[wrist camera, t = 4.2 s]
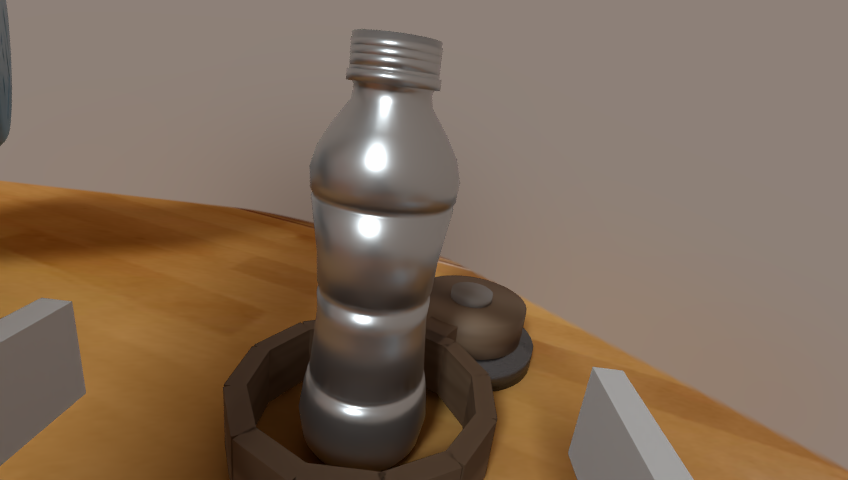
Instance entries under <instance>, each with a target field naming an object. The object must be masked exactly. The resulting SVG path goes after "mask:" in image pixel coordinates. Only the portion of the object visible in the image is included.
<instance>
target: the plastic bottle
mask: <svg viewBox="0 0 848 480" xmlns="http://www.w3.org/2000/svg"><path fill="white" fill-rule="evenodd" d="M441 59H442V42H441V41H438V40H435V39H431V38H427V37H422V36H417V35H412V34H405V33H398V32H391V31H381V30H366V29H362V30H361V29H358V30H353V31H352V36H351V48H350V67H349V68H347V73H346V79H348V80H352V81H353V83H354V85H353V92H352V96H351V99H350V100H349V101H348V102H347V104H346V105H345V106H344V107H343V108H342V110H341V111H340V112H339V113H338V115H337V116H336V117H335V118H334V120H333V121H332V122H331V123H330V125H329V127H328V128H327V129H326V131H325V133H324V134H323V136H322V137H321V139H320V140H319V142H318V143H317V145H316V148H315V151H314V154H313V157H312V160H311V163H310V188H311V190H312V193H311V199H312V209H313V218H314V228H315V238H316V248H317V282H318V287H317V313H316V321H315V328H314V335H313V342H312V349H311V356H310V361H309V363H308V366H307V369H306V373H305V376H304V381H303V386H302V391H301V396H300V402H299V411H300V418H301V424H302V430H303V436H304V438H305V441H306V443H307V445H308V447H309V448H310V449H311V450H312V452H313V453H314V454H315V455H316V456H317V457H318V458H319V459H320V460H321V461H322V462H324V463H325V464H326V465H329V466H337V467H345V468H353V469H361V470H369V471H377V472H382V471H385V470H387V469H389V468H390V467H392V466H394V465H395V464H397V463H398V462H399V461H401V460H402V459H403V458H404V457H405V456H407V455H408V454H409V453H410V452H411V450H412V448H413V447H414V445H415V444H416V441H417V438H418V436H419V433H420V430H421V427H422V425H423V422H424V419H425V414H426V382H425V373H424V352H425V333H426V318H427V313H428V308H429V303H430V294H431V292H432V288H433V283H434V278H435V272H436V267H437V262H438V259H439V256H440V252H441V249H442V246H443V242H444V239H445V235H446V232H447V229H448V226H449V222H450V219H451V215H452V212H453V205H454V204H455V203H456V198H457V193H458V188H459V184H460V181H459V173H458V165H457V159H456V157H455V154H454V152H453V149H452V147H451V144H450V142H449V139H448V137H447V135H446V133H445V131H444V129H443V127H442V125H441V124H440V122H439V120H438V118H437V116H436V114H435V112H434V110H433V108H432V93H433V92H434V91H440V88H441V80H439V75H440V67H441Z"/></svg>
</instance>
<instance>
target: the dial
mask: <svg viewBox="0 0 848 480" xmlns="http://www.w3.org/2000/svg"><path fill="white" fill-rule="evenodd" d="M525 315H526V305H525V303H524V301H523V300H522V299H521V298H520V297H519V296H518V295H517V294H516V293H514V292H513V291H511V290H509V289H508V288H506V287H504V286H501V285H499V284H497V283H494V282H491V281H488V280H484V279H480V278H475V277H468V276H440V277H435V278H434V283H433V288H432V292H431V294H430V303H429V308H428V313H427V318H426V333H425V352H424V373H425V382H426V388H427V389H429V390H431V391H433V392H435V393H437V394H438V396H439V397H440V398H441V399H442V401H443V402H444V403H445V404H446V406H447V407H448V408H449V410H450V411H451V412H452V413H453V415H454V416H455V417H456V418H457V420H458V421H459V422H460V424H461V425H462V426H463V430H462V431H461V433H460V434H459V435H458V436H457V438H456V439H455V440H454V441H453V443H452V444H451V445H450V446H449V448H448V449H447V450H446V451H444V452H441V453H438V454H435V455H432V456H429V457H426V458H423V459H420V460H416V461H413V462H410V463H407V464H404V465H401V466H398V467H395V468H392V469H389V470H386V471H383V472H377V471H369V470H361V469H353V468H345V467H337V466H329V465H320V464H312V463H306V462H304V461H303V460H302V459H300V458H299V457H297V456H296V455H295V454H293V453H292V452H290V451H289V450H287V449H286V448H285V447H283V446H282V445H280V444H279V443H277V442H276V441H275V440H273V439H272V438H270V437H269V436H268V435H266V434H265V433H263V432H262V431H260V430H259V429H258V428H256V425H257V423H258V421H259V419H260V417H261V416H262V414H263V412H264V410H265V408H266V407H267V405H268V403H269V402H270V401H272V400H273V399H275V398H276V397H278V396H280V395H281V394H283V393H284V392H286V391H287V390H289V389H291V388H292V387H294V386H295V385H297V384H298V383H300V382H302V381H303V380H304V376H305V373H306V369H307V366H308V363H309V361H310V356H311V349H312V342H313V335H314V328H315V321H316V320H311V321H304V322H303V324H302V323H298V324H296V325H294V326H292V327H290V328H288V329H286V330H284V331H281V332H279V333H277V334H275V335H273V336H271V337H269V338H267V339H265V340H263V341H261V342H259V343H257V344H255V345H254V346H252V347H251V349H250V350H249V351H248V353H247V354H246V355H245V357H244V358H243V359H242V361H241V362H240V363H239V365H238V366H237V368H236V369H235V370H234V372H233V373H232V374H231V376H230V377H229V378H228V380H227V381H226V382H225V384H224V387H223V397H224V428H225V448H226V455H227V463H228V470H229V478H230V480H483V479H484V477H485V473H486V469H487V464H488V459H489V455H490V450H491V445H492V441H493V436H494V431H495V427H496V422H497V414H496V409H495V403H494V397H493V391H492V385H491V379H490V376H488V375H489V374H488V373H487V372H486V371H485V370H484V369H483V368H482V367H481V366H480V365H479V364H478V363H477V362H476V361H475V360H489V359H496V358H501V357H504V356H506V355H509V354H510V353H512V352H513V351H515V350H516V349H517V347H518V345H519V343H520V338H521V334H522V329H523V324H524V320H525Z"/></svg>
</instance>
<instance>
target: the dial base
mask: <svg viewBox="0 0 848 480" xmlns="http://www.w3.org/2000/svg"><path fill="white" fill-rule="evenodd" d="M532 350H533V344H532V340H531V338H530V336H529V334H528V333H527V331H526V330H525V329H524V328H523V329H522V334H521V338H520V343H519V345H518V347H517V349H516V350H515V351H513V352H512V353H510V354H509V355H506V356H504V357H501V358H496V359H489V360H475V361H476V362H477V363H478V364H479V365H480V366H481V367H482V368H483V369H484V370H485V371H486V372H487V373H488V374H489V375H488V376H490V379H491V385H492V391H498V390H502V389H506V388H509V387H511V386H513V385H515V384H517V383H518V382H520V381H521V380H522V379H523V378H524V376H525V375H526V373H527V371H528V368H529V364H530V359H531V355H532Z"/></svg>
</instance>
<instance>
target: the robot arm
mask: <svg viewBox="0 0 848 480" xmlns="http://www.w3.org/2000/svg"><path fill="white" fill-rule="evenodd" d="M11 77H12V76H11V51H10V36H9V23H8V13H7V5H6V0H0V146H1V145H2V144H3V143H4V142H5V140H6V139H7V136H8V134H9V130H10V123H11V107H12V104H11V103H12V78H11ZM85 393H86V390H85V383H84V377H83V370H82V364H81V357H80V351H79V344H78V338H77V331H76V325H75V318H74V311H73V305H72V302H71V301H63V300H55V299H47V298H40V299H38V300H36V301H34V302H32V303H30V304H29V305H27V306H25V307H23V308H21V309H19V310H17V311H15V312H13V313H11V314H9V315H7V316H5V317H3V318H1V319H0V466H1V465H2V464H3V463H4V462H5V461H6V460H8V459H9V458H10V457H11V456H12V455H14V454H15V453H16V452H17V451H18V450H19V449H21V448H22V447H23V446H24V445H25V444H27V443H28V442H29V441H30V440H31V439H32V438H34V437H35V436H36V435H37V434H38V433H39V432H41V431H42V430H43V429H44V428H45V427H47V426H48V425H49V424H50V423H51V422H52V421H54V420H55V419H56V418H57V417H58V416H59V415H61V414H62V413H63V412H64V411H65V410H67V409H68V408H69V407H70V406H71V405H72V404H74V403H75V402H76V401H77V400H78V399H79V398H81V397H82V396H83V395H84V394H85ZM568 455H569V457H570V460H571V463H572V466H573V469H574V472H575V475H576V477H577V480H693V478H692V476H691V475H690V473H689V472H688V470H687V469H686V467H685V466H684V464H683V463H682V461H681V459H680V458H679V456H678V455H677V453H676V452H675V450H674V449H673V447H672V446H671V444H670V442H669V441H668V439H667V438H666V436H665V435H664V433H663V432H662V430H661V429H660V427H659V426H658V424H657V422H656V421H655V419H654V418H653V416H652V415H651V413H650V412H649V410H648V409H647V407H646V405H645V404H644V402H643V401H642V399H641V398H640V396H639V395H638V393H637V392H636V390H635V389H634V387H633V385H632V384H631V382H630V381H629V379H628V378H627V376H626V375H625V373H624V372H623V371H621V370H613V369H605V368H597V367H593V368H592V371H591V375H590V378H589V382H588V385H587V389H586V392H585V396H584V399H583V403H582V406H581V410H580V413H579V417H578V420H577V424H576V427H575V431H574V434H573V438H572V441H571V445H570V448H569V452H568Z"/></svg>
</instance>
